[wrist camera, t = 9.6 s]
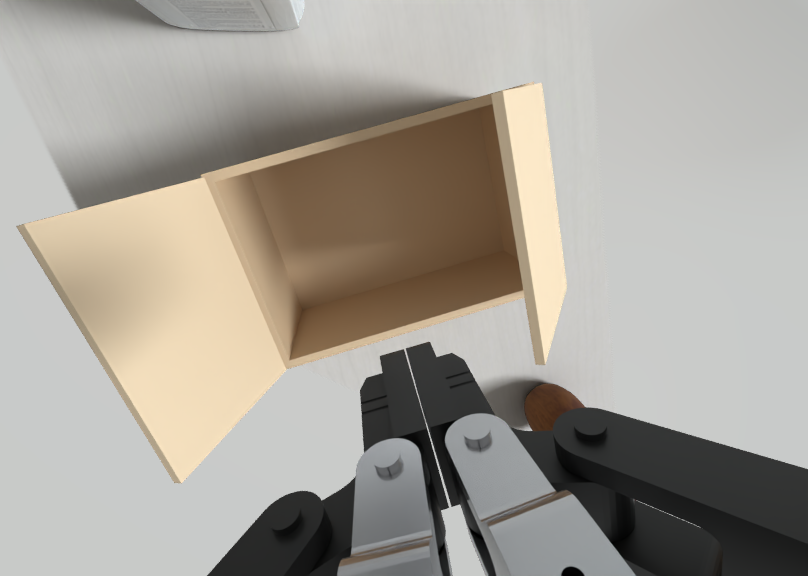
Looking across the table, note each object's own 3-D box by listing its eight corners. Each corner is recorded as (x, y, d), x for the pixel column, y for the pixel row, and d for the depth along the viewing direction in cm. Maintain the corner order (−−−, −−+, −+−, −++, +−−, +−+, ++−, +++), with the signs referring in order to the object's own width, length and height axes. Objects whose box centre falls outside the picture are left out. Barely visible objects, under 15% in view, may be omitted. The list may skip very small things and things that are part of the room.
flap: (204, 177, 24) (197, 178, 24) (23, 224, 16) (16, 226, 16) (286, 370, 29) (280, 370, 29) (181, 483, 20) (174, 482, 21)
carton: (240, 166, 34) (200, 174, 24) (482, 98, 34) (534, 81, 25) (298, 315, 38) (284, 370, 29) (509, 253, 39) (560, 286, 30)
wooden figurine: (578, 402, 47) (679, 513, 33) (537, 432, 47) (619, 553, 33) (549, 364, 44) (644, 465, 30) (506, 396, 45) (580, 509, 31)
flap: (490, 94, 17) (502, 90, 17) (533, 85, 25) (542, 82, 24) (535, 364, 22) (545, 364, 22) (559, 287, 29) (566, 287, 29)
